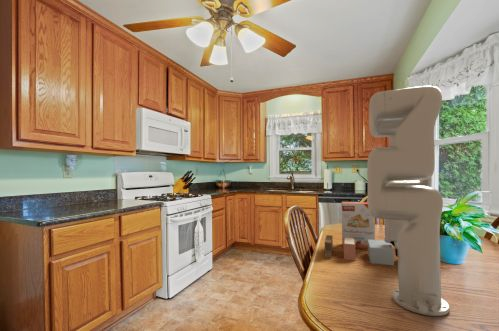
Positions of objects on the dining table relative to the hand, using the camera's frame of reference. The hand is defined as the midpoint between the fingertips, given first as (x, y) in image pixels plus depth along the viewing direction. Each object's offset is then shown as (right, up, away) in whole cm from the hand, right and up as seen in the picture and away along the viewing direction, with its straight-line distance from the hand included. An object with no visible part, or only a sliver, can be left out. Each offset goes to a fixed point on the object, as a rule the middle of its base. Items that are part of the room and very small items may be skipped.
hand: (400, 258), depth 98 cm
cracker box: (-8, -2, +19) cm, 21 cm away
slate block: (-7, -1, +3) cm, 7 cm away
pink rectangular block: (-17, -2, +7) cm, 19 cm away
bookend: (-25, -2, +10) cm, 27 cm away
